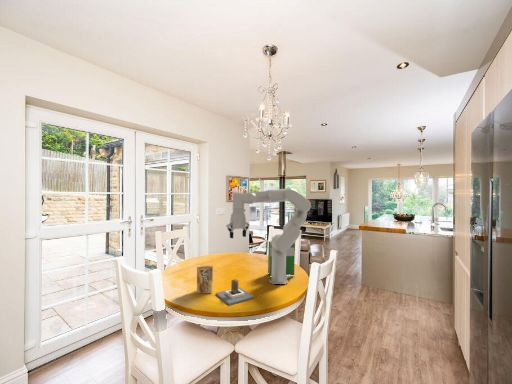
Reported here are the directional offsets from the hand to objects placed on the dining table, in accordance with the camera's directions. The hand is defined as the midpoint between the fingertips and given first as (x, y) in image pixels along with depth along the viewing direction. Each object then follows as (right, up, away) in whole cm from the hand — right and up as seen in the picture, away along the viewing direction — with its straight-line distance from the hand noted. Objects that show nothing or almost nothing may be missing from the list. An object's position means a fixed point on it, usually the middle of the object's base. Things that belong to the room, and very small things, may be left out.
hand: (238, 237), depth 157 cm
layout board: (0, -30, -21) cm, 37 cm away
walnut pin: (0, -29, -21) cm, 36 cm away
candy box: (-19, -30, -16) cm, 38 cm away
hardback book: (+30, -31, +16) cm, 46 cm away
